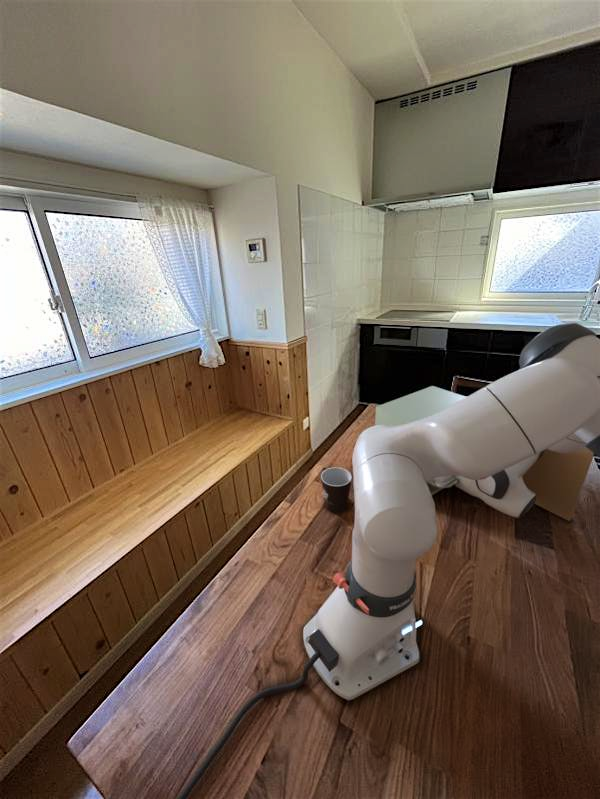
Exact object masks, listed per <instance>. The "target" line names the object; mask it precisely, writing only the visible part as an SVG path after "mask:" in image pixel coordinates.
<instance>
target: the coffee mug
mask: <svg viewBox="0 0 600 799" xmlns="http://www.w3.org/2000/svg"><path fill="white" fill-rule="evenodd" d="M352 475H353V474H351V472H350V471H349V470H348V469H346V468H343V467H340V466H339V467H338V466H336V467H335V466H333V467H329V468H327V467H322V469H321V473H320V482H321V487H322V493H323V500H324V504H325V505H324V506H325V508H326V509H327V510H328V511H330V512H332V513H341V512H344V511H345V510H347V508H348V504H349V498H350V491H351V486H352V477H353V476H352Z"/></svg>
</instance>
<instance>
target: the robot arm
mask: <svg viewBox="0 0 600 799" xmlns="http://www.w3.org/2000/svg"><path fill="white" fill-rule="evenodd" d="M519 355H520V356H519V360H518V365H519V369H518V370H516V371H513V372H511V373H508V374H507V375H504V376H503V377H500V378H499V379H497V380H495V381H492V382H491V383H489V384H486V386H484V387H482V388H479V389H478V390H477V391H475V392H473V393H471V394H469V395H468V396H465V397H466V398H464V399H462V400H460V401H459V402H457V403H455V404H453V405H451V406H450V407H448V408H446V409H444V410H442V411H440V412H438V413H436V414H434V415H431V416H429V417H426V418H423V419H420V420H417V421H414V422H410V423H406V424H403V425H398V426H388V425H376V426H375V425H373V426H370V427H368V428H366V429H364V430H363V431H362V432H361V433H360V434H359V436H358V437H357V439H356V442H355V445H354V448H353V452H352V457H351V463H352V475H353V476H352V477H353V482H352V484H353V498H354V499H353V500H354V525H353V529H352V532H351V558H350V561H349V562H348V564H347V568H346V572H345V575H344V574H342V572H337V573H336V574H335V575H334V577H332V581H333V583H334V584H335V585H336V587H335V589H334V590H333V591H332V593H330V595H329V596H328V598H327V599H326V600H325V601H324V603H323V604H322V605H321V607H319V609H318V611H317V612H316V614H315V615H314V616H313V617H312V618H311V619H310V620H309V621H308V622H307V623H306V625H305V626H304V627H303V631H302V638H303V639H302V640H303V644H304V648H305V651H306V654H307V656H308V658H309V659H308V661H307V662H306V663H305V665H304V667H303V670H302V676H301V677H300V678H298V679H296V680H295V681H292V682H290V683H285V684H280V685H276V686H271V687H267V688H265V689H263V690H261V691H259V692H257V693H256V694H254V695H253V696H252V697H251V698H250V699H249V700H248V701H247V702H246V703H245V704H244V705H243V706H242V708H240V710H239V711H238V713H237V714H236V715H235V717H234V718H233V720H232V721H231V723H230V724H229V725H228V728H227V729H226V730H225V732H224V733H223V735H222V737H220V739H219V740H218V742H217V743H216V745H215V746H214V747H213V749H212V750H211V752H210V753H209V754H208V755H207V757H206V758H205V760H204V761H203V762H202V764H201V765H200V766H199V768H198V769H197V771H195V774H194V775H193V776H192V778H191V779H190V781H189V782H188V783H187V785H186V786H185V787H184V788H183V790H182V792H181V793H180V794H179V795H178V796H177V798H176V799H188V797H189V796H190V794H192V791H193V790H194V789H195V787H196V786H197V784H198V783H199V781H200V780H201V779H202V777H203V776H204V774H205V773H206V771H207V770H208V768H209V767H210V766H211V764H212V763H213V762H214V760H215V759H216V757H217V756H218V755H219V753H220V752H221V750H222V749H223V748H224V746H225V745H226V743H227V742H228V740H229V739H230V737H231V736H232V734H233V733H234V731H235V729H236V728H237V727H238V725H239V723H240V722H241V721H242V719H243V718H244V716H245V715H246V714H247V713H248V711H249V710H250V709H251V708H252V707H254V705H255V704H257V703H258V702H260V701H261V700H263V699H264V698H267V697H269V696H272V695H275V694H279V693H283V692H287V691H291V690H294V689H298V688H300V687H302V686H303V685H304V684H305V683H306V682H307V680H308V678H309V671H310V670H311V668H312V667H313V668H314V669H315V670H316V672H317V674H318V675H319V677H320V678H321V680H322V681H323V682H324V683H325V685H326V686H328V687H329V689H330V690H331V691H332V692H334V693H335V694H336V695H338V696H339V697H341V698H342V699H345V700H346V701H351V700H355V699H356V698H359V697H360V696H362V695H363V694H365V693H368V691H371V690H372V689H374V688H376V687H378V686H380V685H382V684H383V683H386V682H387V681H389V680H390V679H392V678H394V677H395V676H397V675H400V674H401V673H403V672H404V671H406V670H408V669H410V668H412V667H414V666H415V665H417V664H418V663H419V662H420V650H419V647H418V643H417V632H418V631H417V630H418V629H417V628H418V627H420V626H421V625H423V621H422V619H420V620H418V621H416V613H415V612H416V611H415V605H414V604H415V603H414V598H415V594H416V590H417V572H416V565H417V559H420V558H421V557H423V556H425V555H426V554H428V553H429V552H430V551H431V550H432V549H433V548H434V546H435V544H436V542H437V539H438V518H437V511H436V504H435V501H434V498H433V495H431V493H430V490H429V487H428V485H427V483H429V484H431V485H433V486H436V487H439V488H443V489H450V488H451V489H452V488H453V487H454V486H455V487H456V488H458V489H460V490H461V491H463V492H465V493H467V494H468V495H470V496H471V497H474V498H478V499H480V500H481V501H483V502H484V503H485V504H486V505H487V506H490V507H491V508H493V509H495V510H496V511H499V512H501V513H502V514H505V515H507V516H510V517H513V518H516V519H520V518H522V517H524V516H525V515H526V514H527V513H528V512H529V511H530V510H531V508H532V507H533V506H534V505H535V504H534V502H535V500H536V494H535V493H534V492H532V491H531V490H529V489H528V488H527V487H526V485H525V484H524V481H523V478H522V476H523V475H524V474H525V473H526V472H527V471H528V470H529V468H530V467H531V466H532V465H533V464H535V463H536V462H537V461H538V460H539V459H540V458H541V457H542V455H543V453H544V450H545V449H549V450H551V451H554V452H558V453H564V454H565V453H571V452H574V451H578V450H581V449H583V448H586V447H587V448H588V449H589V450H590V451H592V452H593V453H594V456H597V457H598V458H600V338H599V337H597V333H596V332H595V331H593V330H591V329H590V328H588V327H586V326H584V325H582V324H580V323H577V322H567V323H559V324H556V325H554V326H552V327H549V328H547V329H546V330H543V331H542V332H540V333H538V334H537V335H536V336H535V337H534V338H533V339H531V340H530V341H529V342H528V343H527V344H525V346H524V347H523V349H522V350H521V352H520V354H519ZM406 657H407V658H408V659H407V658H406ZM336 683H338V685H336Z"/></svg>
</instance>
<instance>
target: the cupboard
mask: <svg viewBox="0 0 600 799" xmlns="http://www.w3.org/2000/svg"><path fill="white" fill-rule="evenodd" d="M466 397H467V396H465V395H462V394H459V393H456V392H453V391H450V390H446V389H444V388H440V387H437V386H434V385H430V386H428V387H426V388H423V389H420V390H418V391H415V392H413V393H409V394H406V395H404V396H401V397H399V398H396V399H393V400H390V401H387V402H385V403H383V404H380V405H377V406H375V416H374V418H375V419H374V426H376V425H388V426H398V425H403V424H406V423H410V422H414V421H417V420H420V419H423V418H426V417H429V416H431V415H434V414H436V413H438V412H440V411H442V410H444V409H446V408H448V407H450V406H451V405H453V404H455V403H457V402H459V401H460V400H462V399H464V398H466ZM427 485H428V487H429V490H430V493H431V495H432V496H434V495H436V494H437V493H439V492H440V491H442V490H443V489H444V488H439V487H436V486H433V485H431V484H429V483H427Z"/></svg>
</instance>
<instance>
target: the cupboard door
mask: <svg viewBox="0 0 600 799" xmlns="http://www.w3.org/2000/svg"><path fill="white" fill-rule="evenodd" d="M594 456H595V454H594V453H593V452H592V451H590V450H589V449H588V448H587V447H586V448H583V449H581V450H578V451H574V452H571V453H565V454H564V453H558V452H554V451H551V450H549V449H545V450H544V453H543V455H542V457H541V458H540V459H539V460H538V461H537V462H536V463H535V464H533V465H532V466H531V467H530V468H529V470H528V471H527V472H526V473H525V474H524V475H523V476H522V478H523V481H524V484H525V485H526V487H527V488H528V489H529V490H531V491H532V492H534V493H535V494H536V500H535V502H534V504H533V505H536V506H537V507H540V508H542V509H543V510H546V511H548V512H550V513H552V514H554V515H556V516H558V517H560V518H562V519H563V520H566V521H568V522H570V521H571V519H572V517H573V514H574V512H575V508H576V506H577V504H578V500H579V499H580V498H579V497H580V495H581V492H582V489H583V486H584V483H585V481H586V478H587V475H588V473H589V470H590V467H591V464H592V461H593V459H594Z"/></svg>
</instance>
